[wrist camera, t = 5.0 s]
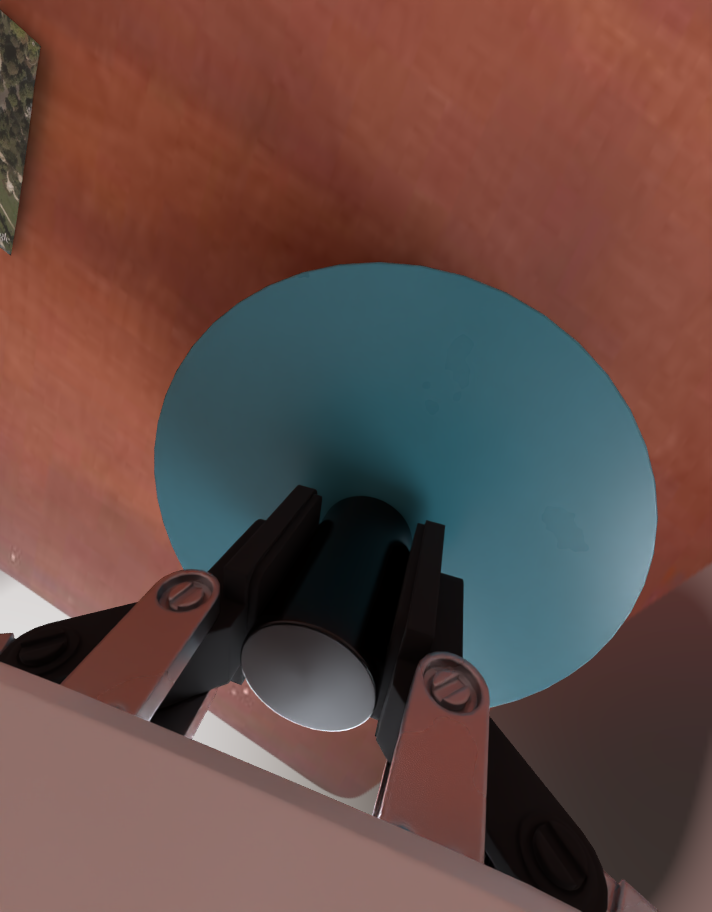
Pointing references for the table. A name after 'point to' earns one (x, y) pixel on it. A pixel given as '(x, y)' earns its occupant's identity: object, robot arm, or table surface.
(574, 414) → the lid
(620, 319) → the table surface
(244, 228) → the table surface
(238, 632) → the robot arm
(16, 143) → the eiffel tower figurine
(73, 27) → the table surface
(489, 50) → the table surface
